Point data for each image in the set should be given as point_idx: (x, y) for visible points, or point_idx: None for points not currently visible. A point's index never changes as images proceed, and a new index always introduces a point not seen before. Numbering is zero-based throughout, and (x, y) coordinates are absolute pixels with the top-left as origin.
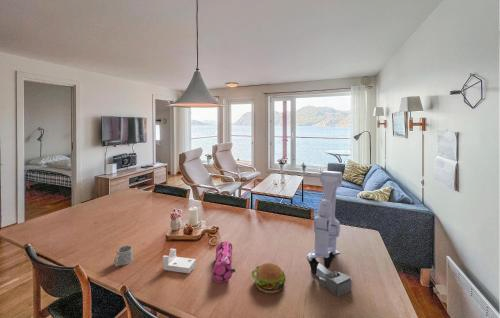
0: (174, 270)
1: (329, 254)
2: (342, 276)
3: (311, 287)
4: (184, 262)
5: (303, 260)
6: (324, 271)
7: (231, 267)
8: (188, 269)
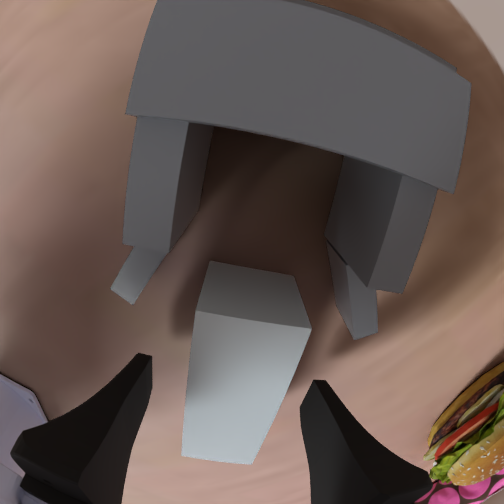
0: None
1: (76, 498)
2: (238, 86)
3: (424, 304)
4: None
5: (198, 462)
6: (269, 365)
7: None
8: None
